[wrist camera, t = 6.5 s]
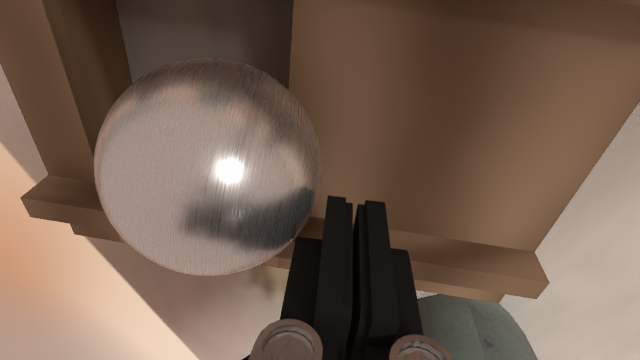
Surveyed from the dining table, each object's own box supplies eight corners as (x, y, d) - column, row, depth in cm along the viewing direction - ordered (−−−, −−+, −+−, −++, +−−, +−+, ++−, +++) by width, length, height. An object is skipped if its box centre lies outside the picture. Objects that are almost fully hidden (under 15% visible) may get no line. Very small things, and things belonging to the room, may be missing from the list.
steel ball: (344, 244, 7) (-18, 186, 6) (290, 310, 12) (92, 286, 11) (351, 40, 10) (121, -20, 9) (307, 160, 15) (156, 130, 14)
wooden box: (705, -161, 10) (946, -216, 6) (479, 246, 19) (508, 334, 15) (-16, -253, 10) (-272, -365, 6) (116, 188, 20) (51, 258, 16)
